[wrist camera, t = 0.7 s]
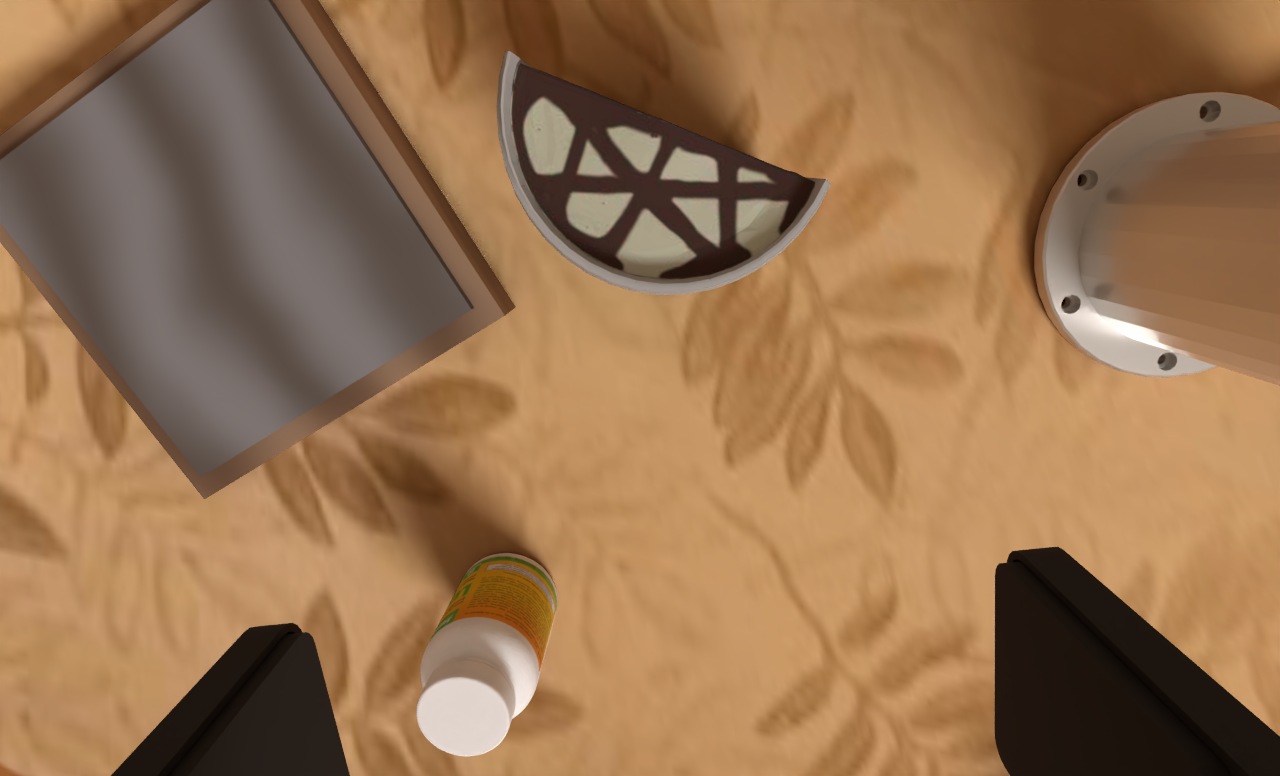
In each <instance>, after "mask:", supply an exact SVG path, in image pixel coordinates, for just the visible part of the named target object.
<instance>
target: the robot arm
mask: <svg viewBox="0 0 1280 776" xmlns="http://www.w3.org/2000/svg"><path fill="white" fill-rule="evenodd" d="M1199 111H1200V113H1199ZM1079 175H1080V176H1081V179H1082V181H1081V183H1080V184H1079V185H1078V182H1077V180H1078V177H1079ZM1034 271H1035V276H1036V282H1037V287H1038V293H1039V296H1040V298H1041V300H1042V303H1043V305H1044V308H1045V310H1046V313H1047V315H1048V317H1049V318H1050V320H1051V321H1052V322H1053V324H1054V325H1055V327H1056V328H1057V330H1058V331H1059V333H1060V334H1061V335H1062V336H1063V337H1064V338H1065V339H1066V340H1067V341H1068V342H1069V343H1070V344H1071V345H1073V346H1074V347H1075V348H1076V349H1077V350H1078V351H1080V352H1081V353H1083V354H1085V355H1086V356H1088V357H1090V358H1091V359H1093V360H1095V361H1097V362H1098V363H1101V364H1104V365H1106V366H1109V367H1111V368H1114V369H1116V370H1119V371H1122V372H1127V373H1131V374H1135V375H1140V376H1144V377H1161V378H1167V377H1176V376H1183V375H1190V374H1197V373H1200V372H1203V371H1206V370H1209V369H1212V368H1216V367H1222V368H1225V369H1228V370H1232V371H1235V372H1238V373H1241V374H1244V375H1247V376H1250V377H1254V378H1257V379H1260V380H1263V381H1266V382H1269V383H1273V384H1276V385H1279V386H1280V109H1279V108H1277V107H1275V106H1274V105H1272V104H1270V103H1267V102H1264V101H1261V100H1259V99H1256V98H1253V97H1250V96H1247V95H1241V94H1233V93H1225V92H1208V93H1194V94H1186V95H1182V96H1177V97H1172V98H1167V99H1162V100H1160V101H1157V102H1154V103H1151V104H1149V105H1146V106H1143V107H1140V108H1138V109H1135V110H1133V111H1132V112H1130V113H1128V114H1126V115H1125V116H1123V117H1121V118H1119V119H1118V120H1116V121H1114V122H1112V123H1111V124H1109V125H1108V126H1107V127H1105V128H1104V129H1103V130H1102V131H1100V132H1099V133H1098V134H1097V135H1096V136H1094V137H1093V138H1092V139H1091V140H1089V141H1088V142H1087V143H1086V144H1085V145H1084V146H1083V147H1082V148H1081V150H1080V151H1079V152H1078V153H1077V154H1076V155H1075V156H1074V158H1073V159H1072V160H1071V161H1070V162H1069V163H1068V164H1067V165H1066V167H1065V169H1064V170H1063V172H1062V173H1061V175H1060V177H1059V178H1058V180H1057V181H1056V183H1055V185H1054V186H1053V188H1052V189H1051V192H1050V194H1049V196H1048V199H1047V201H1046V204H1045V206H1044V209H1043V211H1042V214H1041V216H1040V220H1039V225H1038V230H1037V234H1036V239H1035V253H1034ZM1064 298H1065V299H1066V302H1065V304H1064V305H1063V306H1061V303H1062V301H1063V299H1064ZM995 740H996V745H997V749H998V752H999V755H1000V758H1001V760H1002V762H1003V764H1004V766H1005V768H1006V769H1007V771H1008V773H1009V774H1010V776H1280V736H1278V735H1277V734H1276V733H1275V732H1274V731H1273V730H1272V729H1270V728H1269V727H1268V726H1267V725H1266V724H1265V723H1263V722H1262V721H1261V720H1260V719H1259V718H1258V717H1256V716H1255V715H1254V714H1253V713H1252V712H1251V711H1250V710H1248V709H1247V708H1246V707H1245V706H1244V705H1243V704H1241V703H1240V702H1239V701H1238V700H1237V699H1236V698H1234V697H1233V696H1232V695H1231V694H1230V693H1229V692H1227V691H1226V690H1225V689H1224V688H1223V687H1222V686H1221V685H1219V684H1218V683H1217V682H1216V681H1215V680H1214V679H1212V678H1211V677H1210V676H1209V675H1208V674H1207V673H1205V672H1204V671H1203V670H1202V669H1201V668H1200V667H1198V666H1197V665H1196V664H1195V663H1194V662H1193V661H1192V660H1190V659H1189V658H1188V657H1187V656H1186V655H1185V654H1183V653H1182V652H1181V651H1180V650H1179V649H1178V648H1176V647H1175V646H1174V645H1173V644H1172V643H1171V642H1170V641H1168V640H1167V639H1166V638H1165V637H1164V636H1163V635H1161V634H1160V633H1159V632H1158V631H1157V630H1156V629H1154V628H1153V627H1152V626H1151V625H1150V624H1149V623H1147V622H1146V621H1145V620H1144V619H1143V618H1142V617H1141V616H1139V615H1138V614H1137V613H1136V612H1135V611H1134V610H1132V609H1131V608H1130V607H1129V606H1128V605H1127V604H1125V603H1124V602H1123V601H1122V600H1121V599H1120V598H1119V597H1117V596H1116V595H1115V594H1114V593H1113V592H1112V591H1110V590H1109V589H1108V588H1107V587H1106V586H1105V585H1103V584H1102V583H1101V582H1100V581H1099V580H1098V579H1096V578H1095V577H1094V576H1093V575H1092V574H1091V573H1090V572H1088V571H1087V570H1086V569H1085V568H1084V567H1083V566H1081V565H1080V564H1079V563H1078V562H1077V561H1076V560H1074V559H1073V558H1072V557H1071V556H1070V555H1069V554H1067V553H1066V552H1065V551H1064V550H1062V549H1061V548H1059V547H1049V548H1039V549H1029V550H1019V551H1012V552H1011V553H1010V554H1009V557H1008V560H1007V563H1001V564H999V565H998V566H997V568H996V573H995ZM111 776H350V775H349V771H348V767H347V763H346V759H345V756H344V752H343V748H342V744H341V740H340V737H339V733H338V729H337V725H336V721H335V718H334V714H333V710H332V706H331V702H330V699H329V695H328V691H327V687H326V683H325V680H324V676H323V672H322V668H321V664H320V661H319V657H318V653H317V649H316V645H315V642H314V639H313V637H312V636H311V635H310V634H309V633H307V632H305V633H302V631H301V629H300V628H299V627H298V625H296V624H293V623H288V624H278V625H268V626H258V627H252V628H249V629H248V630H246V631H245V632H244V633H243V634H242V635H241V636H240V637H239V638H238V639H237V641H236V642H235V643H234V644H233V645H232V646H231V647H230V648H229V649H228V650H227V651H226V652H225V653H224V655H223V656H222V657H221V658H220V659H219V660H218V661H217V662H216V663H215V664H214V665H213V666H212V667H211V669H210V670H209V671H208V672H207V673H206V674H205V675H204V676H203V677H202V678H201V679H200V680H199V681H198V683H197V684H196V685H195V686H194V687H193V688H192V689H191V690H190V691H189V692H188V693H187V694H186V695H185V697H184V698H183V699H182V700H181V701H180V702H179V703H178V704H177V705H176V706H175V707H174V708H173V709H172V711H171V712H170V713H169V714H168V715H167V716H166V717H165V718H164V719H163V720H162V721H161V722H160V723H159V725H158V726H157V727H156V728H155V729H154V730H153V731H152V732H151V733H150V734H149V735H148V736H147V737H146V739H145V740H144V741H143V742H142V743H141V744H140V745H139V746H138V747H137V748H136V749H135V750H134V751H133V752H132V754H131V755H130V756H129V757H128V758H127V759H126V760H125V761H124V762H123V763H122V764H121V765H120V766H119V768H118V769H117V770H116V771H115V772H114V773H113V774H112V775H111Z"/></svg>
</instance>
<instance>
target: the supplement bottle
mask: <svg viewBox="0 0 1280 776" xmlns="http://www.w3.org/2000/svg"><path fill="white" fill-rule="evenodd" d="M557 603H558V599H557V592H556V588H555V585H554V582H553V580H552V578H551V577H550V575H549V574H548V572H547V571H546V570H545V569H544V568H543V567H542V566H541V565H539V564H538V563H537V562H535V561H533V560H532V559H530V558H527V557H525V556H522V555H519V554H513V553H499V554H493V555H490V556H487V557H485V558H482V559H481V560H479V561H478V562H476V563H475V564H474V565H473V566H472V567H471V568H470V569H469V570H468V571H467V572H466V574H465V575H464V577H463V579H462V581H461V582H460V584H459V586H458V588H457V590H456V592H455V594H454V596H453V598H452V600H451V602H450V604H449V606H448V608H447V610H446V611H445V613H444V615H443V617H442V619H441V621H440V623H439V625H438V627H437V628H436V630H435V632H434V634H433V636H432V638H431V640H430V642H429V644H428V645H427V648H426V650H425V653H424V655H423V658H422V662H421V682H422V686H423V691H422V693H421V695H420V697H419V700H418V703H417V710H416V715H417V721H418V724H419V727H420V729H421V731H422V732H423V734H424V735H425V737H426V738H427V739H428V740H429V741H430V742H431V743H432V744H433V745H435V746H436V747H437V748H439V749H441V750H443V751H445V752H447V753H450V754H454V755H459V756H475V755H480V754H483V753H486V752H488V751H490V750H492V749H494V748H495V747H496V746H498V745H499V743H500V742H501V741H502V740H503V739H504V737H505V736H506V734H507V732H508V729H509V726H510V723H511V720H512V719H513V718H514V717H516V716H517V715H518V714H519V713H520V712H522V711H523V710H524V708H525V707H526V706H527V705H528V703H529V702H530V700H531V698H532V696H533V694H534V692H535V689H536V686H537V683H538V679H539V675H540V672H541V668H542V664H543V660H544V656H545V653H546V649H547V645H548V641H549V638H550V634H551V630H552V627H553V623H554V619H555V615H556V610H557Z"/></svg>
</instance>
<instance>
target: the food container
mask: <svg viewBox="0 0 1280 776" xmlns="http://www.w3.org/2000/svg"><path fill="white" fill-rule="evenodd" d="M497 118H498V133H499V140H500V144H501V149H502V153H503V158H504V163H505V167H506V170H507V173H508V175H509V178H510V181H511V183H512V186H513V188H514V191H515V194H516V196H517V198H518V199H519V201H520V203H521V205H522V206H523V208H524V210H525V212H526V214H527V215H528V217H529V219H530V220H531V221H532V223H533V224H534V225H535V227H536V228H537V229H538V230H539V232H540V233H541V234H542V236H543V237H544V238H545V239H546V240H547V241H548V242H549V243H550V244H551V245H552V246H553V247H554V248H555V249H556V250H557V251H558V252H559V253H560V254H561V255H562V256H563V257H565V258H566V259H567V260H569V261H570V262H571V263H573V264H574V265H576V266H577V267H579V268H580V269H582V270H583V271H585V272H586V273H588V274H590V275H592V276H594V277H596V278H598V279H600V280H602V281H604V282H607V283H609V284H611V285H614V286H618V287H621V288H624V289H628V290H631V291H635V292H641V293H649V294H657V295H680V294H691V293H696V292H702V291H707V290H712V289H715V288H718V287H721V286H723V285H726V284H729V283H732V282H735V281H737V280H739V279H741V278H743V277H745V276H747V275H748V274H750V273H752V272H754V271H756V270H758V269H760V268H761V267H762V266H764V265H765V264H766V263H768V262H769V261H770V260H772V259H773V258H774V257H776V256H777V255H778V254H780V253H781V252H782V251H783V250H784V249H785V248H786V247H787V246H788V245H789V244H790V243H791V242H792V241H793V240H794V239H795V238H796V237H797V236H798V235H799V234H800V233H801V232H802V230H803V229H804V228H805V226H806V225H807V224H808V222H809V221H810V219H811V218H812V217H813V215H814V214H815V213H816V211H817V210H818V208H819V206H820V204H821V202H822V201H823V199H824V197H825V195H826V193H827V191H828V189H829V187H830V185H831V183H829V182H828V180H827V179H817V178H805V177H803V176H801V175H799V174H797V173H795V172H791V171H787V170H784V169H782V168H779V167H776V166H774V165H771V164H769V163H767V162H764V161H762V160H759V159H757V158H755V157H752V156H750V155H747V154H745V153H742V152H740V151H737V150H735V149H732V148H730V147H727V146H725V145H722V144H720V143H717V142H715V141H712V140H710V139H708V138H705V137H703V136H700V135H698V134H696V133H693V132H691V131H688V130H686V129H683V128H681V127H679V126H676V125H674V124H671V123H669V122H667V121H664V120H662V119H659V118H656V117H654V116H651V115H649V114H646V113H644V112H641V111H638V110H636V109H633V108H631V107H629V106H626V105H624V104H621V103H619V102H617V101H614V100H612V99H609V98H607V97H605V96H602V95H600V94H597V93H595V92H592V91H590V90H587V89H585V88H582V87H580V86H578V85H575V84H573V83H570V82H568V81H565V80H563V79H560V78H558V77H555V76H553V75H550V74H548V73H545V72H542V71H540V70H537V69H535V68H533V67H531V66H530V65H528V64H527V63H526V62H524V61H523V60H522V59H520V58H519V57H518V56H516V55H515V54H513V53H512V52H511V51H508V52H506V51H505V54H504V58H503V63H502V67H501V71H500V76H499V85H498V98H497Z"/></svg>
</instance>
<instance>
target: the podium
mask: <svg viewBox="0 0 1280 776" xmlns="http://www.w3.org/2000/svg"><path fill="white" fill-rule="evenodd" d="M0 242H1V244H2V245H3V246H4V247H5V249H6V250H7V251H8V252H9V254H10V255H11V256H12V257H13V259H14V260H15V261H16V262H17V264H18V265H19V266H20V267H21V269H22V270H23V271H24V273H25V274H26V275H27V276H28V278H29V279H30V280H31V281H32V283H33V284H34V285H35V286H36V288H37V289H38V290H39V291H40V293H41V294H42V295H43V296H44V298H45V299H46V300H47V302H48V303H49V304H50V305H51V307H52V308H53V309H54V310H55V312H56V313H57V314H58V315H59V317H60V318H61V319H62V320H63V322H64V323H65V324H66V325H67V327H68V328H69V329H70V330H71V332H72V333H73V334H74V336H75V337H76V338H77V339H78V341H79V342H80V343H81V344H82V346H83V347H84V348H85V349H86V351H87V352H88V353H89V354H90V356H91V357H92V358H93V359H94V361H95V362H96V363H97V365H98V366H99V367H100V368H101V370H102V371H103V372H104V373H105V375H106V376H107V377H108V378H109V380H110V381H111V382H112V383H113V385H114V386H115V387H116V388H117V390H118V391H119V392H120V393H121V395H122V396H123V397H124V399H125V400H126V401H127V402H128V404H129V405H130V406H131V407H132V409H133V410H134V411H135V412H136V414H137V415H138V416H139V417H140V419H141V420H142V421H143V422H144V424H145V425H146V426H147V428H148V429H149V430H150V431H151V433H152V434H153V435H154V436H155V438H156V439H157V440H158V441H159V443H160V444H161V445H162V446H163V448H164V449H165V450H166V451H167V453H168V454H169V455H170V456H171V458H172V459H173V460H174V462H175V463H176V464H177V465H178V467H179V468H180V469H181V470H182V472H183V473H184V474H185V475H186V477H187V478H188V479H189V480H190V482H191V483H192V484H193V485H194V487H195V488H196V489H197V491H198V492H199V493H200V494H201V496H202V497H203V498H204V499H206V498H207V497H209V496H211V495H212V494H214V493H216V492H217V491H219V490H221V489H222V488H224V487H225V486H227V485H229V484H230V483H232V482H234V481H235V480H237V479H239V478H240V477H242V476H243V475H245V474H247V473H248V472H250V471H252V470H253V469H255V468H256V467H258V466H260V465H261V464H263V463H265V462H266V461H268V460H270V459H271V458H273V457H274V456H276V455H278V454H279V453H281V452H283V451H284V450H286V449H288V448H289V447H291V446H292V445H294V444H296V443H297V442H299V441H301V440H302V439H304V438H305V437H307V436H309V435H310V434H312V433H314V432H315V431H317V430H319V429H320V428H322V427H323V426H325V425H327V424H328V423H330V422H332V421H333V420H335V419H337V418H338V417H340V416H341V415H343V414H345V413H346V412H348V411H350V410H351V409H353V408H354V407H356V406H358V405H359V404H361V403H363V402H364V401H366V400H368V399H369V398H371V397H372V396H374V395H376V394H377V393H379V392H381V391H382V390H384V389H385V388H387V387H389V386H390V385H392V384H394V383H395V382H397V381H399V380H400V379H402V378H403V377H405V376H407V375H408V374H410V373H412V372H413V371H415V370H417V369H418V368H420V367H421V366H423V365H425V364H426V363H428V362H430V361H431V360H433V359H434V358H436V357H438V356H439V355H441V354H443V353H444V352H446V351H448V350H449V349H451V348H452V347H454V346H456V345H457V344H459V343H461V342H462V341H464V340H466V339H467V338H469V337H470V336H472V335H474V334H475V333H477V332H479V331H480V330H482V329H483V328H485V327H487V326H488V325H490V324H492V323H493V322H495V321H497V320H498V319H500V318H501V317H503V316H505V315H506V314H507V313H509V312H510V311H511V310H513V309H514V308H515V306H514V304H513V303H512V301H511V299H510V298H509V296H508V295H507V293H506V292H505V290H504V289H503V287H502V285H501V284H500V282H499V281H498V279H497V278H496V276H495V275H494V273H493V271H492V270H491V268H490V267H489V265H488V264H487V262H486V261H485V259H484V257H483V256H482V254H481V253H480V251H479V250H478V248H477V247H476V245H475V243H474V242H473V240H472V239H471V237H470V236H469V234H468V233H467V231H466V229H465V228H464V226H463V225H462V223H461V222H460V220H459V219H458V217H457V215H456V214H455V212H454V211H453V209H452V208H451V206H450V205H449V203H448V201H447V200H446V198H445V197H444V195H443V194H442V192H441V191H440V189H439V187H438V186H437V184H436V183H435V181H434V180H433V178H432V177H431V175H430V173H429V172H428V170H427V169H426V167H425V166H424V164H423V163H422V161H421V159H420V158H419V156H418V155H417V153H416V152H415V150H414V149H413V147H412V145H411V144H410V142H409V141H408V139H407V138H406V136H405V135H404V133H403V131H402V130H401V128H400V127H399V125H398V124H397V122H396V121H395V119H394V117H393V116H392V114H391V113H390V111H389V110H388V108H387V107H386V105H385V103H384V102H383V100H382V99H381V97H380V96H379V94H378V93H377V91H376V89H375V88H374V86H373V85H372V83H371V82H370V80H369V79H368V77H367V76H366V74H365V72H364V71H363V69H362V68H361V66H360V65H359V63H358V62H357V60H356V58H355V57H354V55H353V54H352V52H351V51H350V49H349V48H348V46H347V44H346V43H345V41H344V40H343V38H342V37H341V35H340V34H339V32H338V30H337V29H336V27H335V26H334V24H333V23H332V21H331V20H330V18H329V16H328V15H327V13H326V12H325V10H324V9H323V7H322V6H321V4H320V2H319V1H318V0H178V1H176V2H175V3H174V4H172V5H171V6H170V7H168V8H167V9H166V10H164V11H163V12H162V13H160V14H159V15H158V16H157V17H155V18H154V19H153V20H151V21H150V22H149V23H147V24H146V25H145V26H143V27H142V28H141V29H139V30H138V31H137V32H136V33H134V34H133V35H132V36H130V37H129V38H128V39H126V40H125V41H124V42H122V43H121V44H120V45H118V46H117V47H116V48H115V49H113V50H112V51H111V52H109V53H108V54H107V55H105V56H104V57H103V58H101V59H100V60H99V61H97V62H96V63H95V64H94V65H92V66H91V67H90V68H88V69H87V70H86V71H84V72H83V73H82V74H80V75H79V76H78V77H77V78H75V79H74V80H73V81H71V82H70V83H69V84H67V85H66V86H65V87H63V88H62V89H61V90H59V91H58V92H57V93H56V94H54V95H53V96H52V97H50V98H49V99H48V100H46V101H45V102H44V103H42V104H41V105H40V106H38V107H37V108H36V109H35V110H33V111H32V112H31V113H29V114H28V115H27V116H25V117H24V118H23V119H21V120H20V121H19V122H17V123H16V124H15V125H14V126H12V127H11V128H10V129H8V130H7V131H6V132H4V133H3V134H2V135H0Z"/></svg>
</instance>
